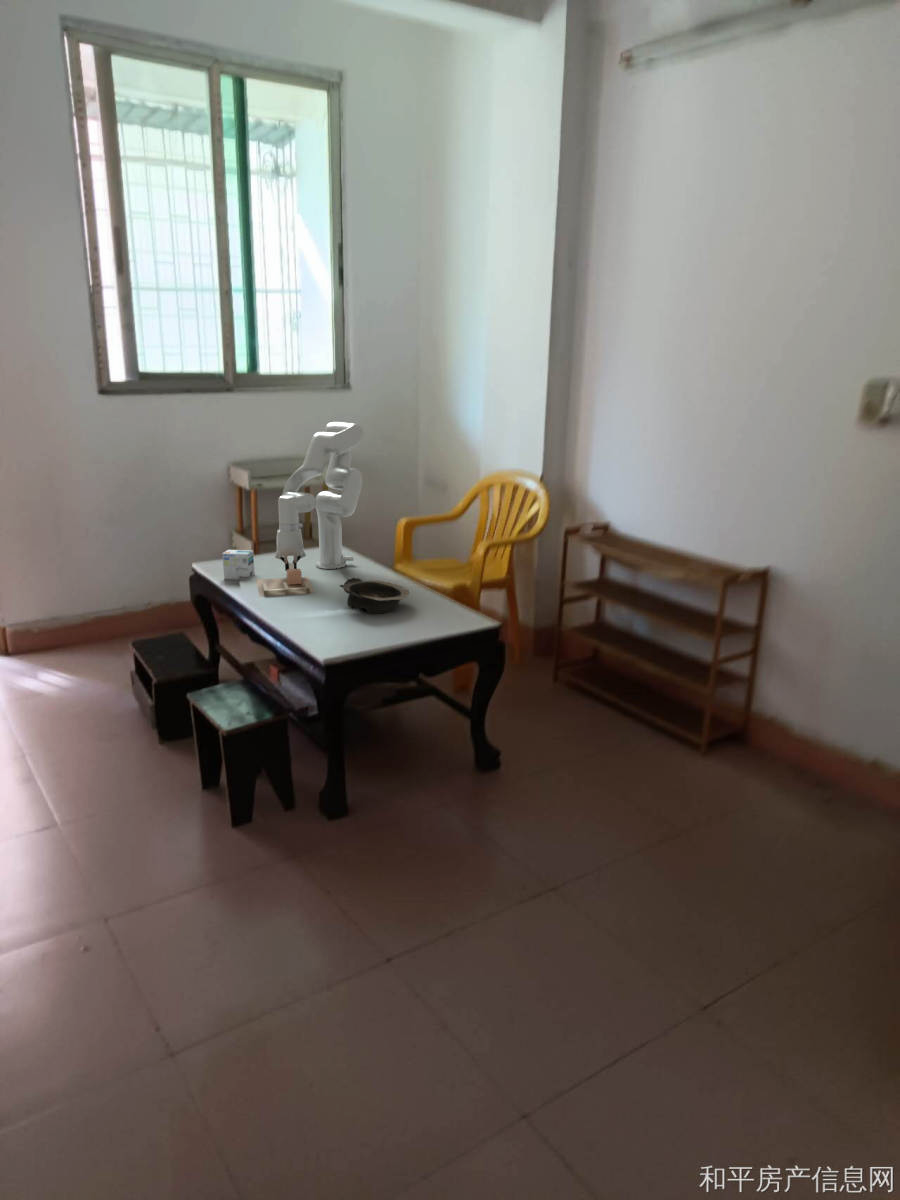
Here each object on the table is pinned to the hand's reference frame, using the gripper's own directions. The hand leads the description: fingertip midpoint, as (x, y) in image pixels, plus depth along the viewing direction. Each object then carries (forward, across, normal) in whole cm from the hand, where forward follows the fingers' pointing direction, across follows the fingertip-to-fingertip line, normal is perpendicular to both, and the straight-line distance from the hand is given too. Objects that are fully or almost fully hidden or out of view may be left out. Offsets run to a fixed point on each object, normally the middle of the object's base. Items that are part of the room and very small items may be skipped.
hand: (291, 572), depth 328 cm
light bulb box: (+3, +20, -7) cm, 21 cm away
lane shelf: (+3, +4, +14) cm, 15 cm away
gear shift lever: (+2, 0, +8) cm, 8 cm away
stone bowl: (+3, -26, +42) cm, 50 cm away
